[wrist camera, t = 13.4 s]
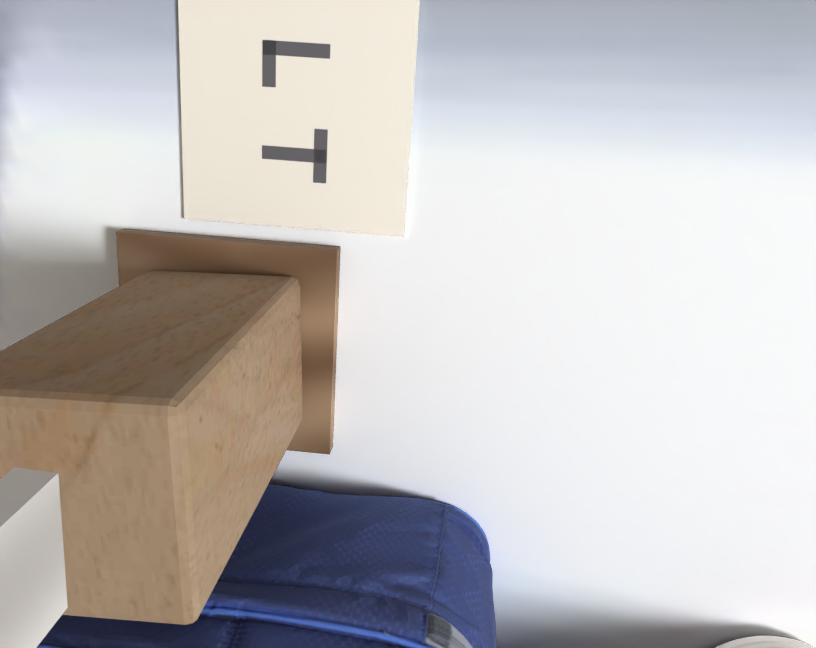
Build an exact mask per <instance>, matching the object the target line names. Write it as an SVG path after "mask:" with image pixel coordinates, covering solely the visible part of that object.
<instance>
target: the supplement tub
mask: <svg viewBox="0 0 816 648" xmlns="http://www.w3.org/2000/svg"><path fill="white" fill-rule="evenodd" d="M715 648H815V647H813V646H811V645H809V644H806V643H804V642H801V641H798V640H794V639H790V638H785V637H779V636H751V637H744V638H740V639H736V640H732V641H729V642H726V643H724V644H721V645H719V646H717V647H715Z"/></svg>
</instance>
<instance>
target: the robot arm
mask: <svg viewBox="0 0 816 648" xmlns="http://www.w3.org/2000/svg"><path fill="white" fill-rule="evenodd" d="M67 608H68V604H67V590H66V576H65V561H64V547H63V533H62V518H61V504H60V490H59V476H58V473H54V472H47V471H39V470H32V469H24V468H17V467H14V468H13V469H12V470H10V471H9V472H8V473H7V474H6V475H4V476H3V477H2V478H1V479H0V648H37V646H38V645H39V644H40V642H41V641H42V640H43V639H44V637H45V636H46V635H47V633H48V632H49V631H50V630H51V628H52V627H53V626H54V624H55V623H56V622H57V621H58V619H59V618H60V617H61V616H62V614H63V613H64V612H65V610H66V609H67Z"/></svg>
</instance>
